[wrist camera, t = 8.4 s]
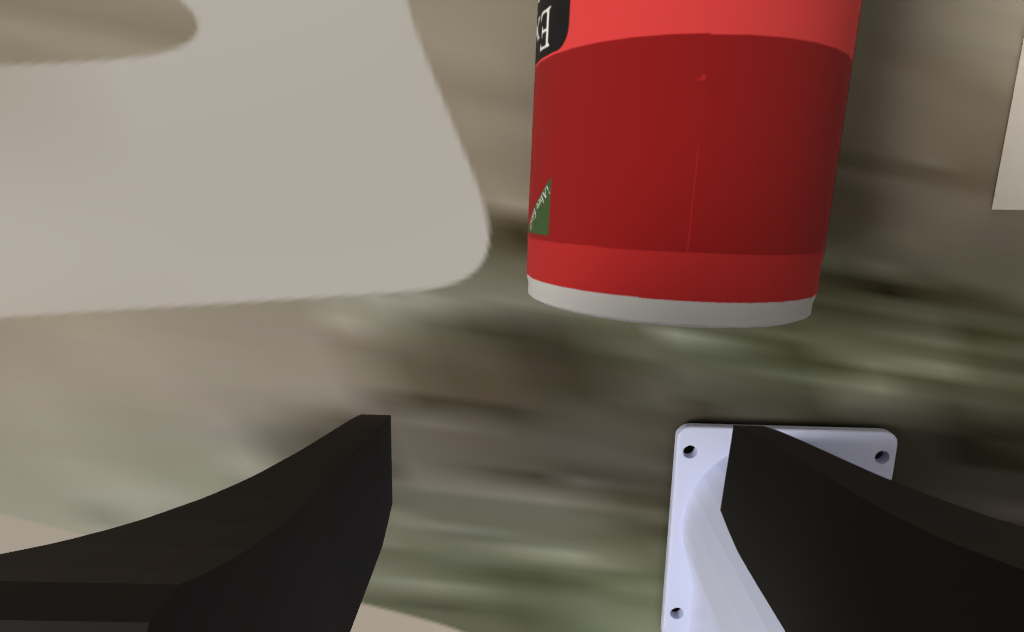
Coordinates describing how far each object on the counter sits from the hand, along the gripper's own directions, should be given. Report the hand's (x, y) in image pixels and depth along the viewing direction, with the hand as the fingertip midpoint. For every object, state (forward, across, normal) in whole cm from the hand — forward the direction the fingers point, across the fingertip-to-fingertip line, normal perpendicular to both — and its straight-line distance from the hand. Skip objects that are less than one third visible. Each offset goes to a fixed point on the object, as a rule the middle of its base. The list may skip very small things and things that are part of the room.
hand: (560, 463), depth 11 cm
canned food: (+6, -3, -14) cm, 15 cm away
